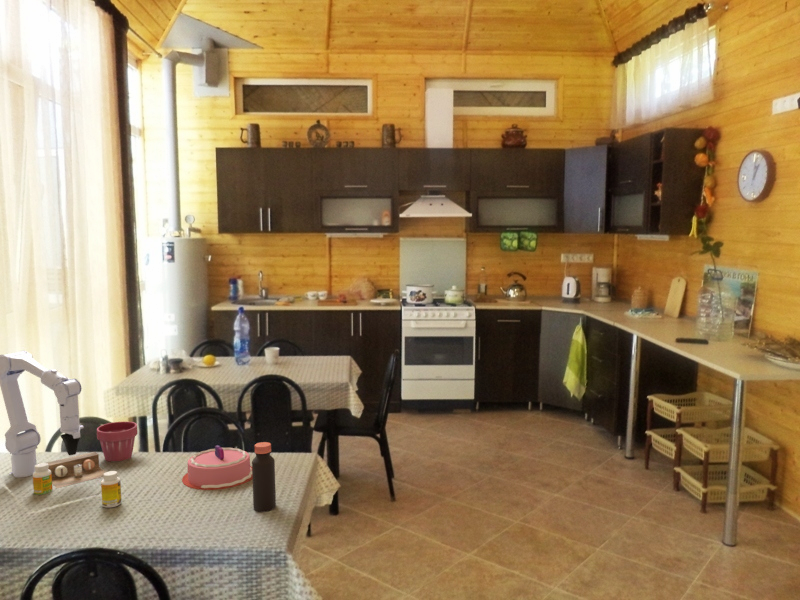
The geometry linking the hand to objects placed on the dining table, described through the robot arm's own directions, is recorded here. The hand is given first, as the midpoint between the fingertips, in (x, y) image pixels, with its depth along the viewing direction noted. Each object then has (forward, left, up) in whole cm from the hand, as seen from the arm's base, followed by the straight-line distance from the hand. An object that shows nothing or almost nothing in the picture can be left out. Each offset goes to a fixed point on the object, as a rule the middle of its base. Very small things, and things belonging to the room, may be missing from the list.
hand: (72, 454), depth 216 cm
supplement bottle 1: (+3, -10, -10) cm, 15 cm away
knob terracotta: (-9, +7, -9) cm, 14 cm away
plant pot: (-14, +20, -10) cm, 26 cm away
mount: (-5, +2, -10) cm, 11 cm away
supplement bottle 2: (+28, +3, -10) cm, 30 cm away
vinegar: (+64, +36, -10) cm, 74 cm away
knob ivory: (-9, -2, -9) cm, 13 cm away
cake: (+30, +39, -11) cm, 50 cm away
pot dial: (-3, +2, -9) cm, 10 cm away
